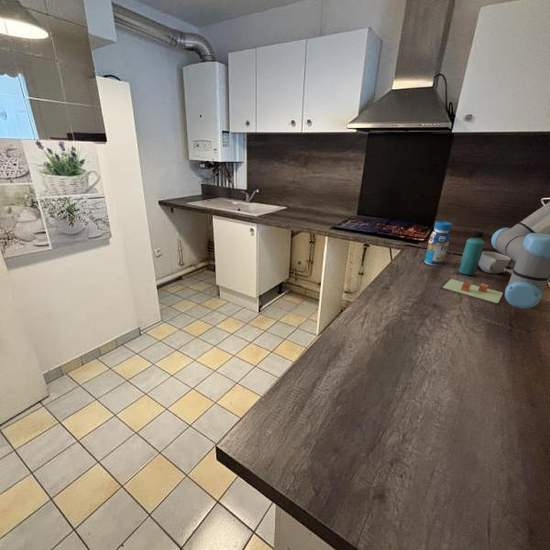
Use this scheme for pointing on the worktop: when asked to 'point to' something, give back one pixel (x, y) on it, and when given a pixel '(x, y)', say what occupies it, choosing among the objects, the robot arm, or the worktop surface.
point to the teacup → (493, 262)
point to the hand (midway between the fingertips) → (533, 262)
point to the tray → (474, 291)
